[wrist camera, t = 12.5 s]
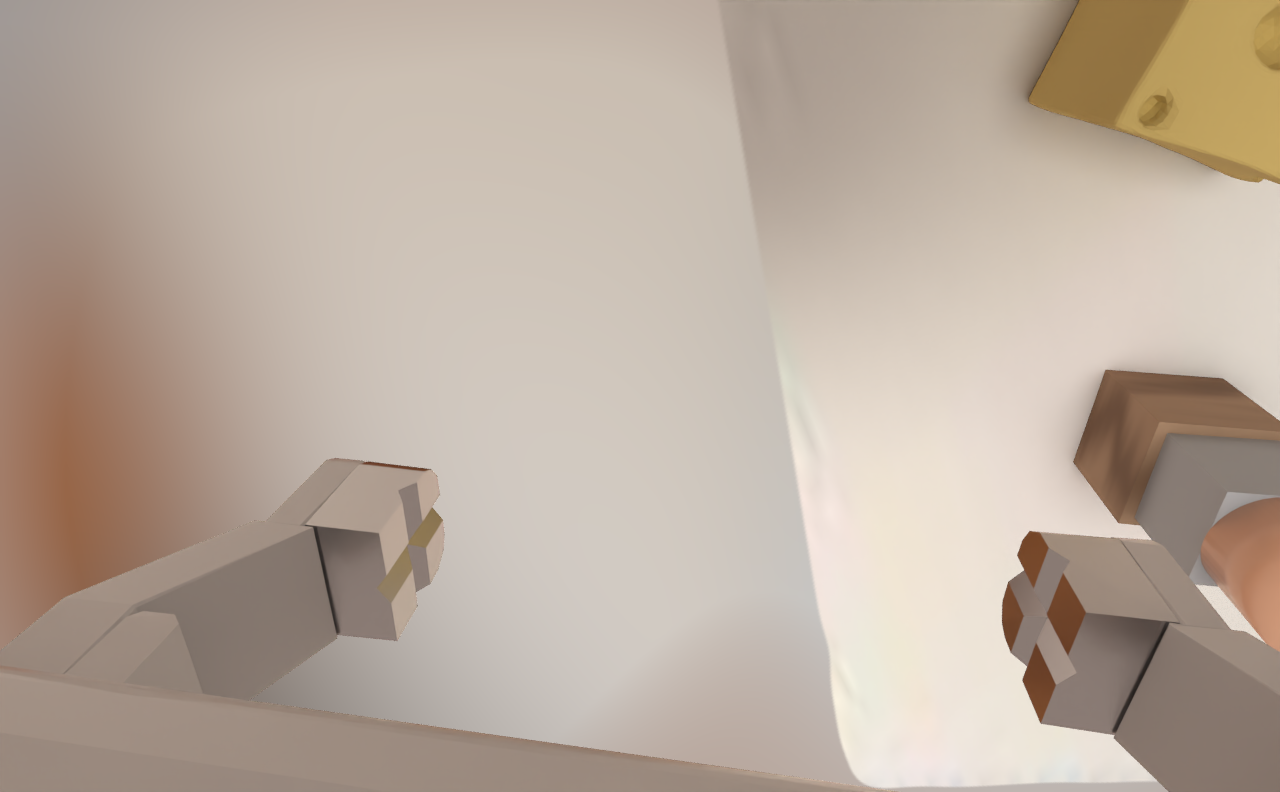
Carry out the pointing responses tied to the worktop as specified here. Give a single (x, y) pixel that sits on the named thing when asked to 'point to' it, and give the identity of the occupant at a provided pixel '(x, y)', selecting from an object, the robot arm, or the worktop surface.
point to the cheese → (1175, 78)
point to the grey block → (1204, 491)
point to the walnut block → (1156, 429)
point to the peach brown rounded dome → (1249, 564)
